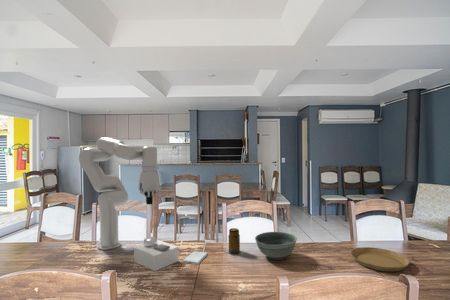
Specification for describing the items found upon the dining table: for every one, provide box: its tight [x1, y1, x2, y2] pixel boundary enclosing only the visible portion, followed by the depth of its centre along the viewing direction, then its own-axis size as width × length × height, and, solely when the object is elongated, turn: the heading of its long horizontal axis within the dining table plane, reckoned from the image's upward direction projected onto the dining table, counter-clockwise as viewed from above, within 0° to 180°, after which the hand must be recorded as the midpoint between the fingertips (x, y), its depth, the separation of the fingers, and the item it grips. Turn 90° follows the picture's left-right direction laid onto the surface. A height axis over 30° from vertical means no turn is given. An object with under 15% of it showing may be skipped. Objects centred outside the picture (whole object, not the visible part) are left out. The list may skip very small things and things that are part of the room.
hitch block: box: [133, 239, 179, 272], centre depth 129 cm, size 17×14×7 cm
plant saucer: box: [350, 246, 410, 273], centre depth 125 cm, size 24×24×3 cm
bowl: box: [254, 231, 297, 261], centre depth 133 cm, size 21×21×10 cm
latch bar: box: [154, 244, 170, 251], centre depth 126 cm, size 7×5×1 cm
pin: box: [143, 236, 158, 248], centre depth 132 cm, size 6×6×9 cm
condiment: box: [225, 227, 246, 257], centre depth 139 cm, size 7×8×12 cm
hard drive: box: [182, 250, 209, 265], centre depth 132 cm, size 2×8×12 cm
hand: (149, 203), depth 139 cm, fingers closed
